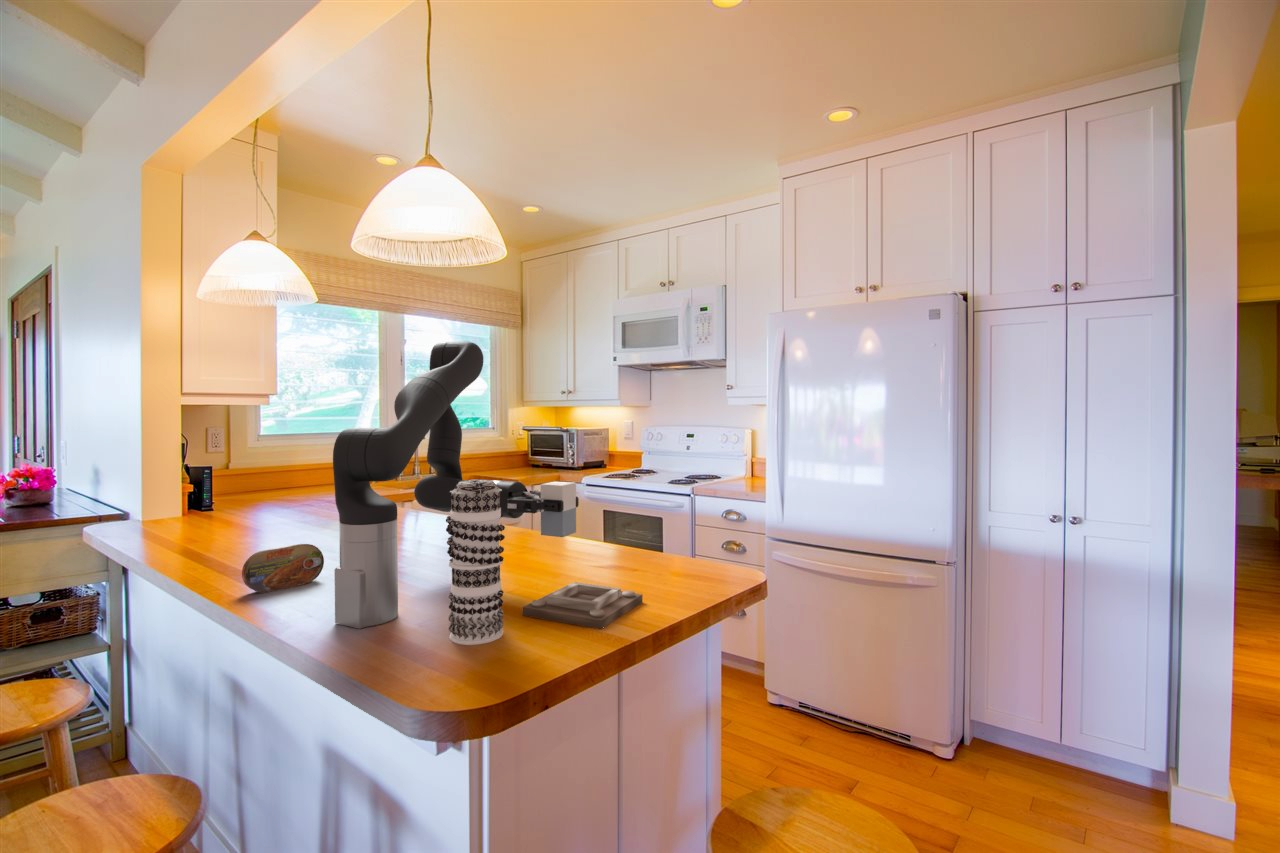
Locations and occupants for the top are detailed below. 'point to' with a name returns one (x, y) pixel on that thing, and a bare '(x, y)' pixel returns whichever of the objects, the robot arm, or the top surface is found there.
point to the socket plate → (584, 605)
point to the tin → (282, 567)
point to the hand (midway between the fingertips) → (569, 504)
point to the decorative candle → (475, 563)
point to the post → (559, 521)
